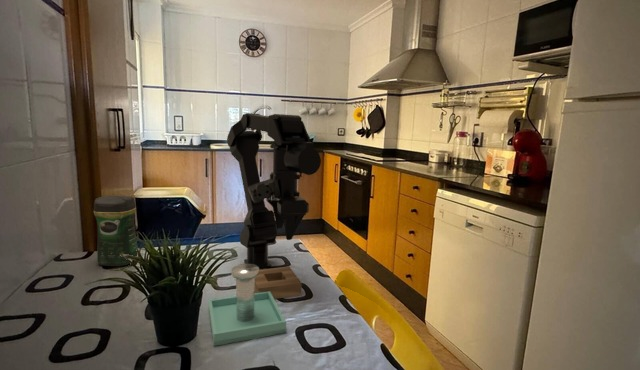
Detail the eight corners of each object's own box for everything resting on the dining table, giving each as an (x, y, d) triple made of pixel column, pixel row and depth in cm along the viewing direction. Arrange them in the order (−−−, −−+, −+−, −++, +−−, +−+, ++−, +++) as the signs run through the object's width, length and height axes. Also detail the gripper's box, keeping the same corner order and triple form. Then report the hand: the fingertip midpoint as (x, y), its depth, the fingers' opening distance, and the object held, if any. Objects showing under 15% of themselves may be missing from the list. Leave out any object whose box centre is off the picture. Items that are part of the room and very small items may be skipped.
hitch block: (250, 282, 86) (250, 271, 86) (289, 277, 90) (289, 266, 89) (258, 301, 77) (258, 288, 76) (301, 294, 80) (301, 282, 80)
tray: (208, 309, 73) (208, 299, 72) (269, 300, 77) (269, 291, 77) (213, 346, 61) (213, 334, 60) (285, 332, 65) (286, 321, 65)
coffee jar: (143, 256, 101) (140, 193, 98) (129, 267, 93) (125, 199, 90) (109, 256, 100) (104, 192, 97) (92, 266, 92) (87, 198, 89)
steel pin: (230, 312, 70) (229, 265, 69) (256, 308, 72) (256, 262, 71) (233, 326, 66) (233, 275, 64) (261, 321, 67) (261, 272, 66)
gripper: (244, 164, 87) (244, 225, 90) (257, 175, 70) (257, 249, 72) (288, 164, 91) (286, 222, 93) (310, 174, 74) (308, 245, 76)
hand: (284, 233), depth 84 cm, fingers open, 9 cm apart
